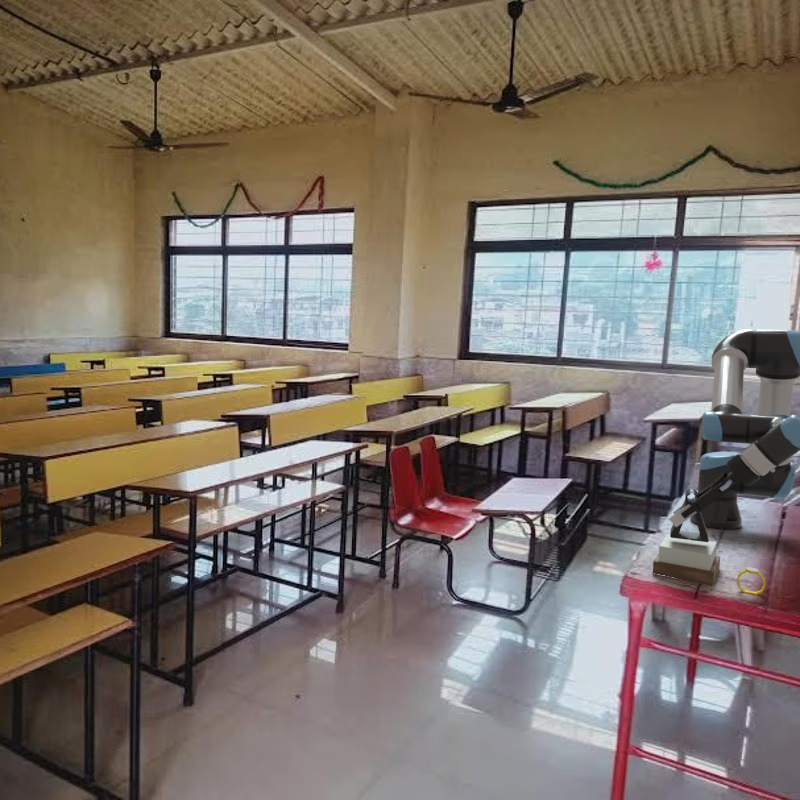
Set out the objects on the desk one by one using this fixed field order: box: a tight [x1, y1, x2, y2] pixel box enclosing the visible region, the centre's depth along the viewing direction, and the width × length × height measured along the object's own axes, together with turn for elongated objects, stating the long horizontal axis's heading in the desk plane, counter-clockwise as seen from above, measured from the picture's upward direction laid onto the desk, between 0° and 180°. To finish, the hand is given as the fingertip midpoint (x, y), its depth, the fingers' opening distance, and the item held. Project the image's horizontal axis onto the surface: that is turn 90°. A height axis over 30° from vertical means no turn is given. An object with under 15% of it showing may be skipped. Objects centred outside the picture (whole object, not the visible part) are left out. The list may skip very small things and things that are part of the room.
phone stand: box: [669, 488, 710, 542], centre depth 167 cm, size 9×6×12 cm, turn 66°
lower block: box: [652, 553, 721, 587], centre depth 169 cm, size 14×14×4 cm
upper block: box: [658, 533, 717, 571], centre depth 168 cm, size 12×12×4 cm
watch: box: [736, 566, 766, 596], centre depth 155 cm, size 6×3×6 cm, turn 61°
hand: (674, 519), depth 169 cm, fingers closed on phone stand, 6 cm apart
